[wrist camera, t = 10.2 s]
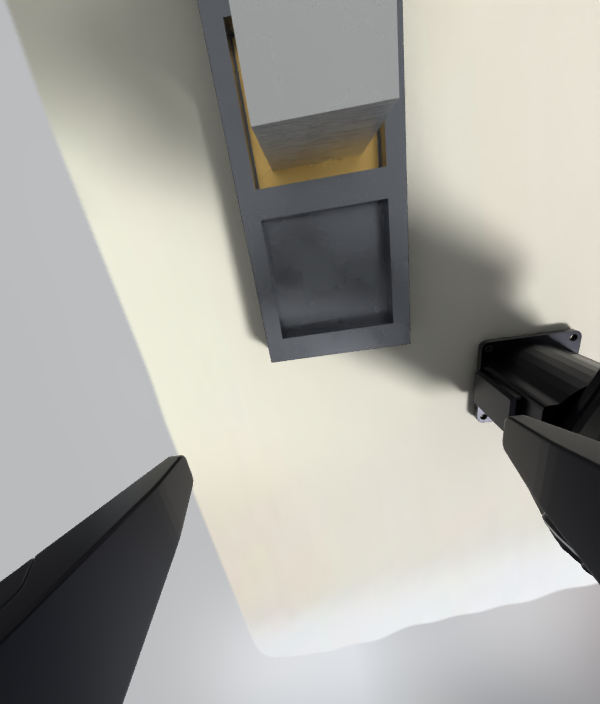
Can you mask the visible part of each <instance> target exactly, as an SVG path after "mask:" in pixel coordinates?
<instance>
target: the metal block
mask: <svg viewBox="0 0 600 704" xmlns="http://www.w3.org/2000/svg"><path fill="white" fill-rule="evenodd" d="M229 5H230V11H231V16H232V22H233V28H234V33H235V39H236V45H237V50H238V56H239V62H240V67H241V73H242V79H243V84H244V90H245V96H246V101H247V107H248V113H249V118H250V124H251V128H252V130H253V132H254V134H255V136H256V138H257V140H258V142H259V144H260V146H261V148H262V150H263V153H264V155H265V157H266V159H267V161H268V163H269V165H270V167H271V169H272V171H277V170H282V169H288V168H293V167H298V166H304V165H309V164H315V163H320V162H326V161H331V160H337V159H342V158H348V157H353V156H359V155H362V154H363V152H364V151H365V149H366V147H367V146H368V144H369V143H370V141H371V140H372V138H373V137H374V135H375V134H376V132H377V131H378V129H379V128H380V126H381V125H382V123H383V122H384V120H385V119H386V117H387V116H388V114H389V113H390V111H391V110H392V108H393V107H394V105H395V104H396V102H397V100H398V99H399V67H398V32H397V0H229Z"/></svg>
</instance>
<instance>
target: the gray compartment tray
mask: <svg viewBox="0 0 600 704" xmlns="http://www.w3.org/2000/svg"><path fill="white" fill-rule="evenodd" d="M197 2H198V7H199V11H200V16H201V21H202V26H203V31H204V36H205V41H206V46H207V50H208V55H209V60H210V65H211V70H212V75H213V80H214V85H215V89H216V94H217V99H218V104H219V109H220V114H221V119H222V124H223V128H224V133H225V138H226V143H227V148H228V153H229V158H230V163H231V167H232V172H233V177H234V182H235V187H236V192H237V197H238V202H239V206H240V211H241V216H242V221H243V226H244V231H245V236H246V241H247V245H248V250H249V255H250V260H251V265H252V270H253V275H254V280H255V284H256V289H257V294H258V299H259V304H260V309H261V314H262V319H263V323H264V328H265V333H266V338H267V343H268V348H269V353H270V358H271V362H280V361H287V360H294V359H302V358H309V357H316V356H324V355H331V354H338V353H345V352H353V351H360V350H367V349H375V348H382V347H389V346H397V345H404V344H411V343H410V300H409V257H408V215H407V172H406V130H405V87H404V45H403V2H402V0H397V32H398V67H399V99H398V100H397V102H396V104H395V105H394V107H393V108H392V110H391V111H390V113H389V114H388V116H387V117H386V119H385V120H384V122H383V123H382V125H381V126H380V128H379V129H378V131H377V132H376V134H375V135H374V137H373V138H372V140H371V141H370V143H369V144H368V146H367V147H366V149H365V151H364V152H363V154H362V155H359V156H353V157H348V158H342V159H337V160H331V161H326V162H320V163H315V164H309V165H304V166H298V167H293V168H288V169H282V170H277V171H272V169H271V167H270V165H269V163H268V161H267V159H266V157H265V155H264V153H263V150H262V148H261V146H260V144H259V142H258V140H257V138H256V136H255V134H254V132H253V130H252V128H251V124H250V118H249V113H248V107H247V101H246V96H245V90H244V84H243V79H242V73H241V67H240V62H239V56H238V50H237V45H236V39H235V33H234V28H233V22H232V16H231V11H230V5H229V0H197Z"/></svg>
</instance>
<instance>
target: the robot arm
mask: <svg viewBox="0 0 600 704" xmlns="http://www.w3.org/2000/svg"><path fill="white" fill-rule="evenodd" d="M572 335H573V336H572ZM570 336H572V338H571V339H570ZM581 337H582V336H581V333H580V332H579V331H577V330H574V329H567V330H559V331H552V332H544V333H537V334H530V335H522V336H515V337H508V338H500V339H493V340H486V341H483V342H482V343H481V344H480V345H479V349H478V365H477V371H476V372H475V381H474V397H473V402H474V403H475V412H474V416H475V418H476V419H477V420H478V421H479V422H492V421H493V422H494V423H495V424H496V425H497V426H498V427H499V428H501V429H502V430H503V431H504V433H503V447H504V450H505V452H506V453H507V455H508V457H509V458H510V460H511V461H512V463H513V465H514V466H515V468H516V469H517V471H518V473H519V474H520V476H521V477H522V479H523V481H524V482H525V484H526V485H527V487H528V489H529V491H530V493H531V495H532V497H533V499H534V500H535V502H536V504H537V506H538V508H539V510H540V512H541V514H542V518H543V520H544V522H545V524H546V525H547V526H548V528H549V529H550V531H551V533H552V534H553V536H554V538H555V539H556V540H557V541H558V543H559V544H560V546H561V547H562V548H563V549H564V550H565V551H566V552H567V553H569V554H570V555H571V556H572V557H573V558H574V559H575V560H576V561H577V562H579V563H580V564H581V566H582V568H583V569H584V570H585V571H586V572H588V573H589V574H590V575H592V576H593V577H594V578H595V579H596V580H597V582H598V583H599V584H600V363H599V362H596V361H594V360H592V359H589V358H587V357H584V356H582V355H580V354H578V353H579V347H580V342H581ZM487 346H490V347H489V349H488V350H485V349H486V347H487ZM483 414H484V415H483ZM481 415H483V416H482V417H481ZM192 486H193V477H192V474H191V471H190V468H189V465H188V463H187V460H186V458H185V457H184V456H182V455H179V456H171V457H168V458H167V459H166V460H164V461H163V462H162V463H160V464H159V465H157V466H156V467H155V468H153V469H152V470H151V471H149V472H148V473H147V474H145V475H144V476H143V477H141V478H140V479H138V480H137V481H136V482H134V483H133V484H132V485H130V486H129V487H128V488H126V489H125V490H124V491H122V492H121V493H120V494H118V495H117V496H116V497H114V498H113V499H112V500H110V501H109V502H108V503H106V504H105V505H103V506H102V507H101V508H99V509H98V510H97V511H95V512H94V513H93V514H91V515H90V516H89V517H87V518H86V519H85V520H83V521H82V522H81V523H79V524H78V525H76V526H75V527H74V528H72V529H71V530H70V531H68V532H67V533H66V534H64V535H63V536H62V537H60V538H59V539H58V540H56V541H55V542H54V543H52V544H51V545H50V546H48V547H47V548H45V549H44V550H43V551H41V552H40V553H39V554H37V555H36V556H35V559H30V560H29V561H28V562H26V563H25V564H24V565H22V566H21V567H20V568H19V569H17V570H16V571H14V572H13V573H12V574H10V575H9V576H8V577H6V578H5V579H3V580H2V581H1V582H0V704H123V701H124V698H125V696H126V692H127V690H128V687H129V684H130V681H131V678H132V675H133V673H134V670H135V666H136V664H137V661H138V658H139V655H140V652H141V649H142V647H143V644H144V641H145V638H146V635H147V632H148V629H149V626H150V623H151V621H152V618H153V615H154V612H155V609H156V606H157V603H158V600H159V598H160V595H161V591H162V589H163V586H164V583H165V580H166V577H167V574H168V572H169V569H170V566H171V563H172V560H173V557H174V554H175V551H176V548H177V545H178V542H179V539H180V536H181V531H182V528H183V524H184V520H185V515H186V511H187V507H188V503H189V499H190V495H191V491H192Z"/></svg>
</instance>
